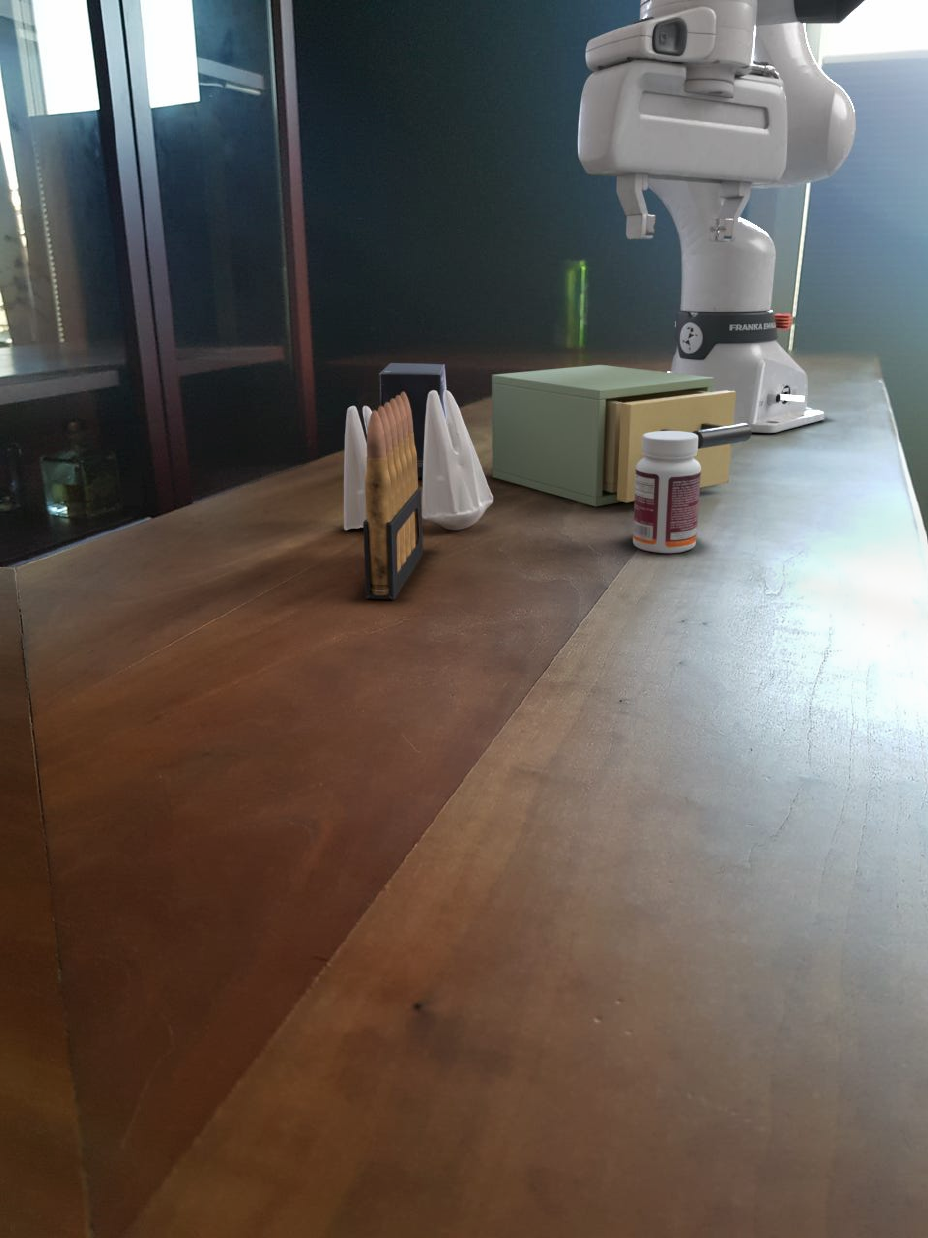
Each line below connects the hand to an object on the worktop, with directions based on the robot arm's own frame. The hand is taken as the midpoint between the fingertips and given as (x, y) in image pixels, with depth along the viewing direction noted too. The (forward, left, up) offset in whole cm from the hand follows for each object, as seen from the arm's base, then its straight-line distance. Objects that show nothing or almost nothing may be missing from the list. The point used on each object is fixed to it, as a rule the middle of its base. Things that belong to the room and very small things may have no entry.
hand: (682, 240), depth 78 cm
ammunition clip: (+31, +5, -22) cm, 38 cm away
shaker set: (+23, -5, -22) cm, 32 cm away
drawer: (0, -3, -21) cm, 21 cm away
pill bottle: (+11, +11, -22) cm, 27 cm away
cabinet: (0, -9, -22) cm, 24 cm away
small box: (+11, -25, -22) cm, 35 cm away
